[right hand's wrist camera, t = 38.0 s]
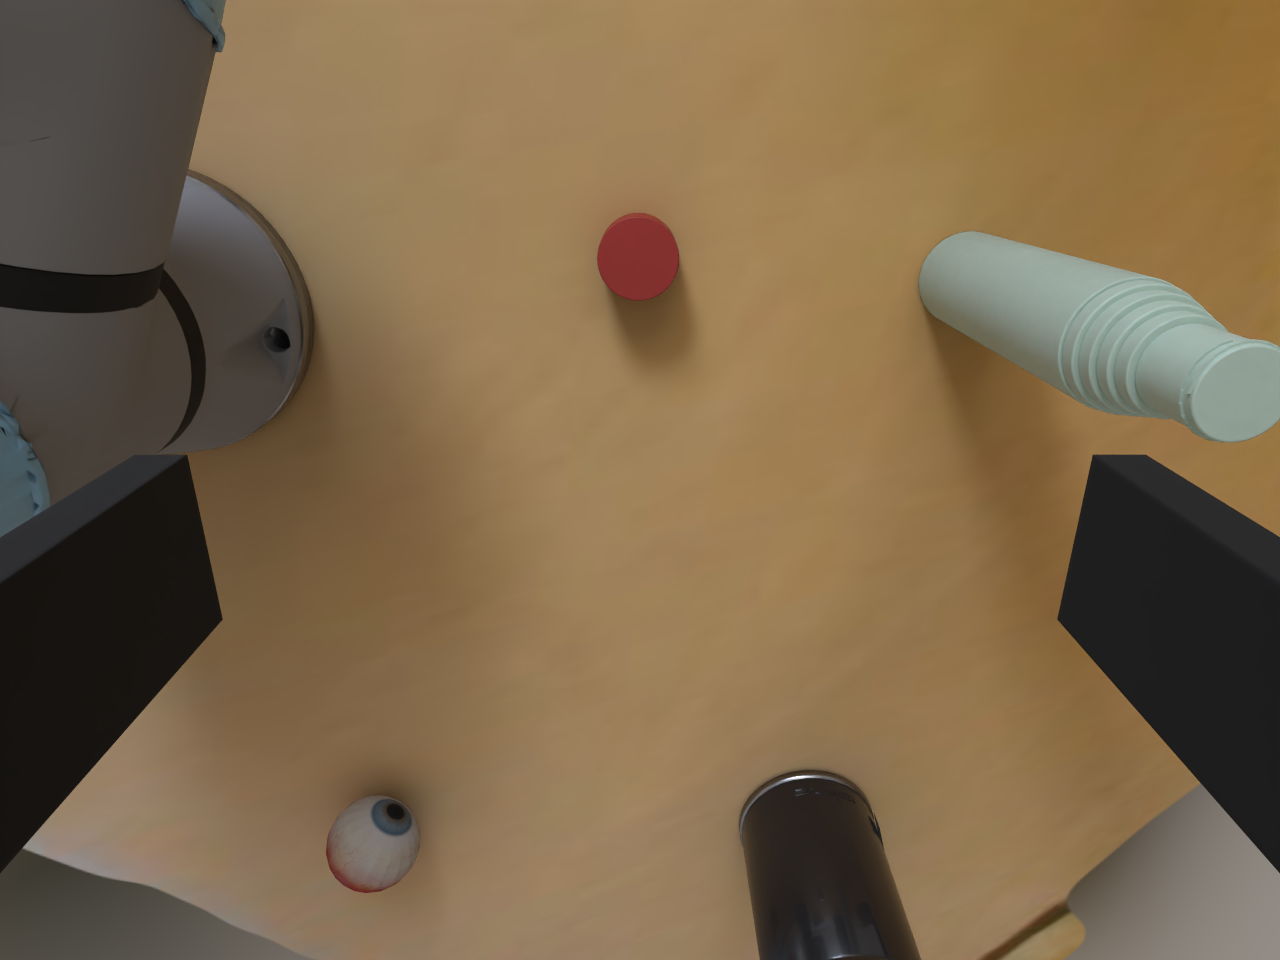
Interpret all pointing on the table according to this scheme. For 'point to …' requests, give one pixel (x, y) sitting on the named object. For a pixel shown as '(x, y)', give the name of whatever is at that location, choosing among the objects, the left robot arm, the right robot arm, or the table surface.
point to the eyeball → (373, 843)
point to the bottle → (1104, 335)
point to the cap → (638, 257)
